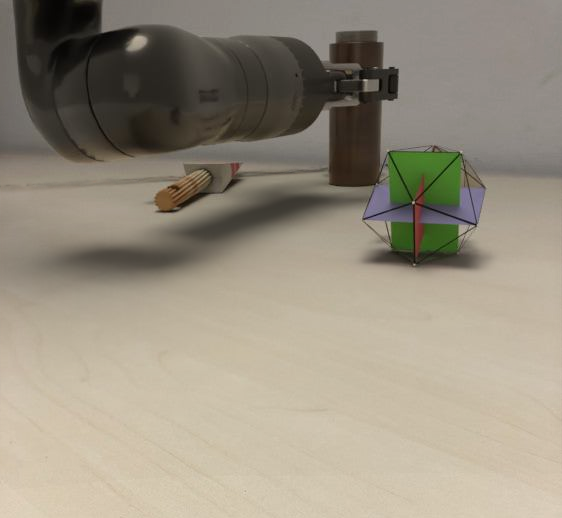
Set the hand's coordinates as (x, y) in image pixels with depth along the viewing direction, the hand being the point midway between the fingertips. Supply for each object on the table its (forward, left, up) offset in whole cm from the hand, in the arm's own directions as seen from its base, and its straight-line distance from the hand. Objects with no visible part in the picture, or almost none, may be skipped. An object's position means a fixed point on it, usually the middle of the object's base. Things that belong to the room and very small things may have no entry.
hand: (347, 83), depth 68 cm
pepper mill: (+1, +1, -9) cm, 10 cm away
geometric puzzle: (-6, -30, -10) cm, 32 cm away
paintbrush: (-15, 0, -10) cm, 18 cm away
